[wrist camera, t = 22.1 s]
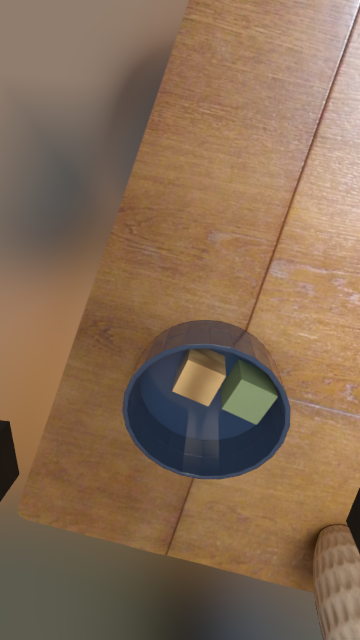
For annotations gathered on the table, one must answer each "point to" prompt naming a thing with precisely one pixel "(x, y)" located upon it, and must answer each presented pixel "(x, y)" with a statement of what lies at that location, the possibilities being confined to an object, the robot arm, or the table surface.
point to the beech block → (200, 375)
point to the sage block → (248, 392)
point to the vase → (337, 584)
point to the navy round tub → (201, 406)
